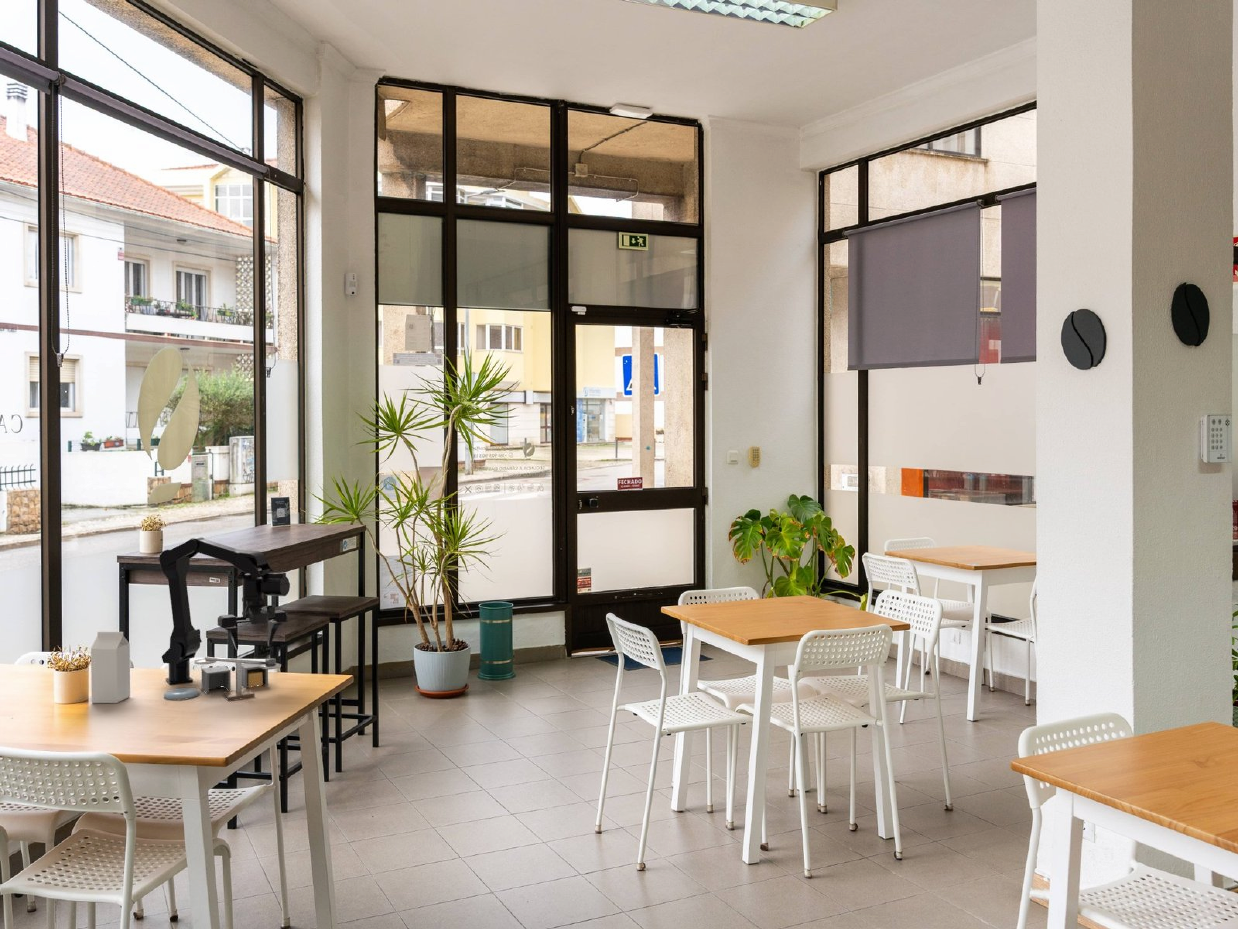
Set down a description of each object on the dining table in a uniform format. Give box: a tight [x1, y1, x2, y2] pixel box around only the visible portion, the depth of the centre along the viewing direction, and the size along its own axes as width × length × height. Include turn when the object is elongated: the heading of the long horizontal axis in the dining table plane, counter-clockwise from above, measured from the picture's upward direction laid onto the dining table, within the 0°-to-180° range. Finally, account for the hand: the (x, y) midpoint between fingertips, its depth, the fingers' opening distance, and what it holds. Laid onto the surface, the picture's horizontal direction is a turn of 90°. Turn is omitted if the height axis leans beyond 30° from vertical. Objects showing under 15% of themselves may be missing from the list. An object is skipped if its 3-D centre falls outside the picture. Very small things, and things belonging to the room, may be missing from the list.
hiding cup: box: [241, 663, 269, 689], centre depth 294 cm, size 6×6×6 cm
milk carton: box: [90, 631, 131, 704], centre depth 276 cm, size 7×7×19 cm
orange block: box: [247, 670, 264, 688], centre depth 294 cm, size 4×4×4 cm
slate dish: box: [163, 687, 200, 701], centre depth 281 cm, size 9×9×1 cm
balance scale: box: [194, 656, 282, 702], centre depth 281 cm, size 6×23×12 cm, turn 125°
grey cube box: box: [201, 665, 232, 695], centre depth 288 cm, size 6×6×6 cm
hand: (253, 648), depth 293 cm, fingers open, 9 cm apart
